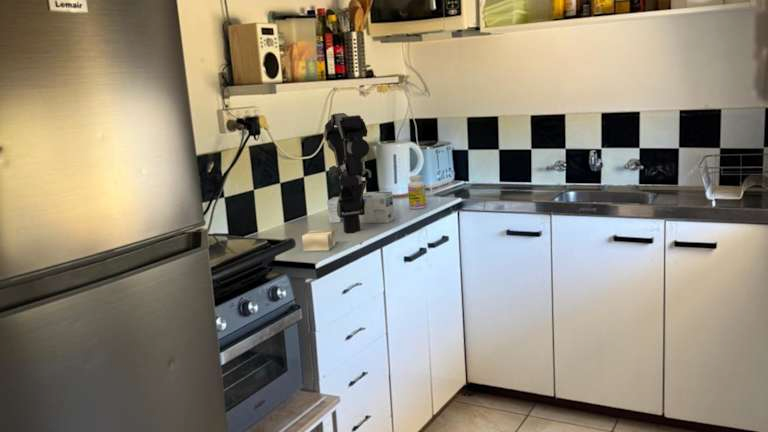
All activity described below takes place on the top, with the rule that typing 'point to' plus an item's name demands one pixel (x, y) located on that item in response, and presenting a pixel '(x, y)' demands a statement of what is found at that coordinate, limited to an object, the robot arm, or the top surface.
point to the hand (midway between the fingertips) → (358, 203)
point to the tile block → (319, 241)
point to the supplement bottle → (416, 193)
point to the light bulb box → (378, 207)
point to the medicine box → (333, 210)
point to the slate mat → (334, 250)
